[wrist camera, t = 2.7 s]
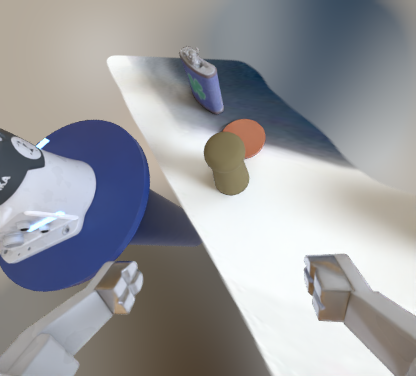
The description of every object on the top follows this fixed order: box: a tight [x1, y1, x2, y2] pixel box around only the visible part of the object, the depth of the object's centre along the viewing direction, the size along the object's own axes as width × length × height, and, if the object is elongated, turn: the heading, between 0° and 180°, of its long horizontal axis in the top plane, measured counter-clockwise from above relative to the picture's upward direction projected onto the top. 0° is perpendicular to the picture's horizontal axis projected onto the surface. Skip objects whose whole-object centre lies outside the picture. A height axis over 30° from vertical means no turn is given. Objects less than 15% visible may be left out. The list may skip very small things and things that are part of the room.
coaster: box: [222, 119, 265, 159], centre depth 33 cm, size 8×8×1 cm
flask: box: [179, 46, 224, 114], centre depth 33 cm, size 9×3×11 cm, turn 38°
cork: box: [204, 132, 249, 195], centre depth 27 cm, size 6×6×11 cm
